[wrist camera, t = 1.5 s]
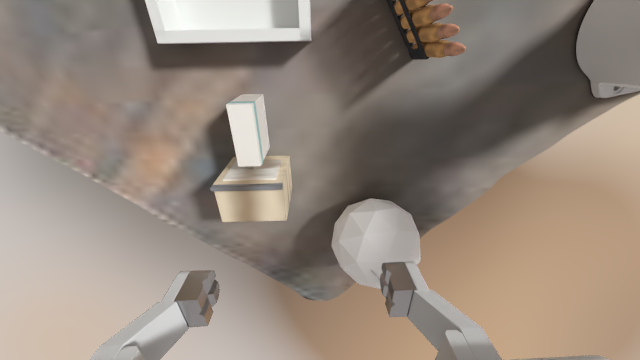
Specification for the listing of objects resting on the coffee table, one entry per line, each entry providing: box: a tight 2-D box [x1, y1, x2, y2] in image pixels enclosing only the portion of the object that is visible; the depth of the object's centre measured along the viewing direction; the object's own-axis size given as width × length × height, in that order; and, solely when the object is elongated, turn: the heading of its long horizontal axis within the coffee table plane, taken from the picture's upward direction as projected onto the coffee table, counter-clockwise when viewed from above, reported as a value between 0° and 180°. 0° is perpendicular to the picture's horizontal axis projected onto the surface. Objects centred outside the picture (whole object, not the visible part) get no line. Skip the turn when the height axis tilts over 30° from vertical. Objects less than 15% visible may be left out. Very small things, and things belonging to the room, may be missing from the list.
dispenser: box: [210, 156, 292, 222], centre depth 36 cm, size 9×6×10 cm
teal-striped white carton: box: [226, 94, 270, 167], centre depth 33 cm, size 3×8×7 cm, turn 1°
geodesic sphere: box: [331, 198, 420, 289], centre depth 39 cm, size 15×14×14 cm
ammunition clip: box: [387, 0, 466, 59], centre depth 25 cm, size 11×2×12 cm, turn 34°
